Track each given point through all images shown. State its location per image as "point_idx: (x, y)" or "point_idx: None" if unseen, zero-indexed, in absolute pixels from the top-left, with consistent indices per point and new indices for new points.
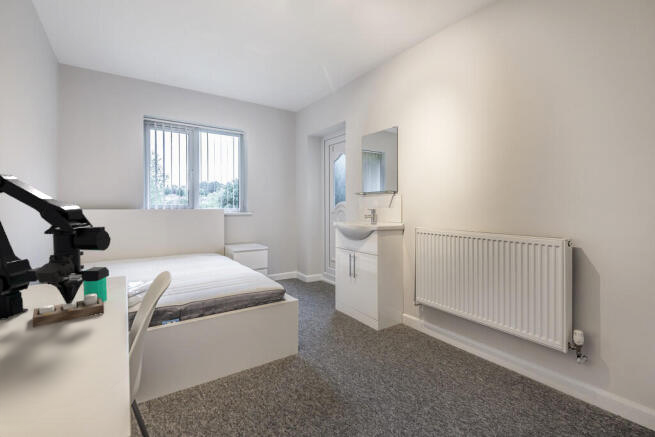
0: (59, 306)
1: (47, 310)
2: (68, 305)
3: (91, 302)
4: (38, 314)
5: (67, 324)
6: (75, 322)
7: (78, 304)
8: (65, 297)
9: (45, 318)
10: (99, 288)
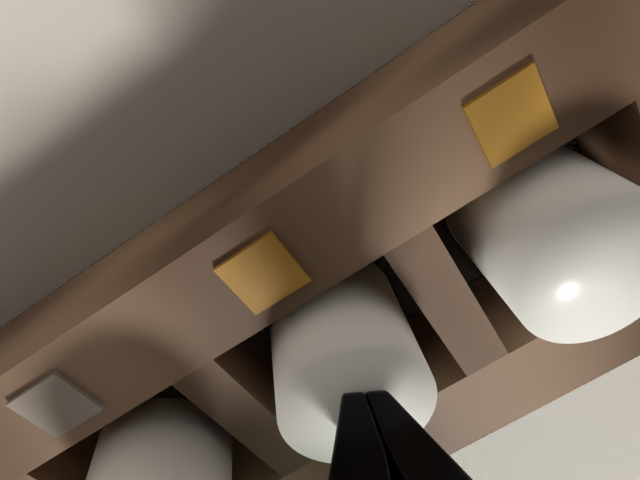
0: (480, 374)
1: (547, 201)
2: (326, 348)
3: (102, 469)
4: None
5: (152, 14)
6: (93, 82)
7: None
8: (420, 475)
9: (477, 40)
10: None
